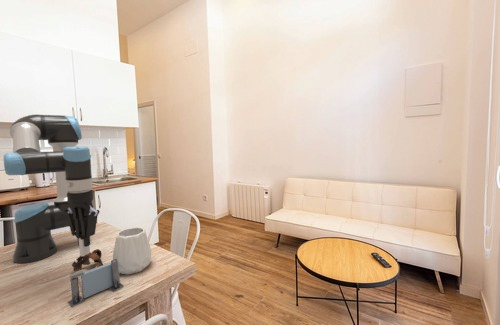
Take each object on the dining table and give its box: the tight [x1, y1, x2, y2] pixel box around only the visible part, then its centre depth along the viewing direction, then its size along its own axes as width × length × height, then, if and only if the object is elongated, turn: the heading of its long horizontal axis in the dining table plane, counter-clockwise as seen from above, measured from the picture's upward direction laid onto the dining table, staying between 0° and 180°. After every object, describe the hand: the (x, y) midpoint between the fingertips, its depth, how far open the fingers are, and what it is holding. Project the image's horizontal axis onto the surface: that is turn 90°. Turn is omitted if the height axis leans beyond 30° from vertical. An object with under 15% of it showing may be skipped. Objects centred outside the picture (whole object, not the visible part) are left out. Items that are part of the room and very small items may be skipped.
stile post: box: [108, 258, 125, 293], centre depth 84 cm, size 4×4×10 cm
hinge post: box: [67, 276, 85, 308], centre depth 77 cm, size 4×4×8 cm
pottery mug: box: [71, 248, 104, 272], centre depth 98 cm, size 12×10×8 cm
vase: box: [112, 227, 152, 276], centre depth 97 cm, size 14×14×15 cm
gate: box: [69, 262, 121, 299], centre depth 81 cm, size 14×2×9 cm, turn 139°
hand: (85, 254), depth 87 cm, fingers closed
